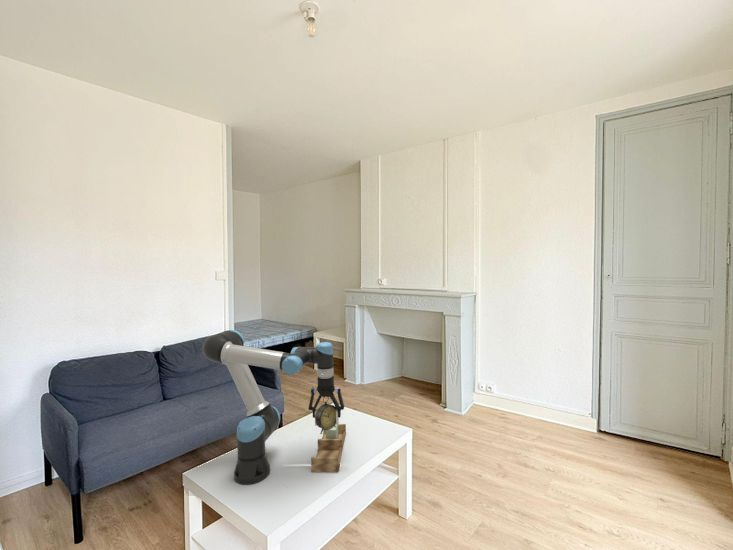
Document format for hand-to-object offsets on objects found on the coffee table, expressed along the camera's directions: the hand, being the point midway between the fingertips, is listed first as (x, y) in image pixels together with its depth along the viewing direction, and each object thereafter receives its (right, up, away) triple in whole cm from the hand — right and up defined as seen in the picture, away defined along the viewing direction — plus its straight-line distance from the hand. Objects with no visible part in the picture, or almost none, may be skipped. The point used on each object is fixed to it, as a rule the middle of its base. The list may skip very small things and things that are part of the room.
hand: (326, 424), depth 163 cm
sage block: (+1, -16, +16) cm, 23 cm away
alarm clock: (0, -3, 0) cm, 3 cm away
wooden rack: (+1, -17, +9) cm, 19 cm away
